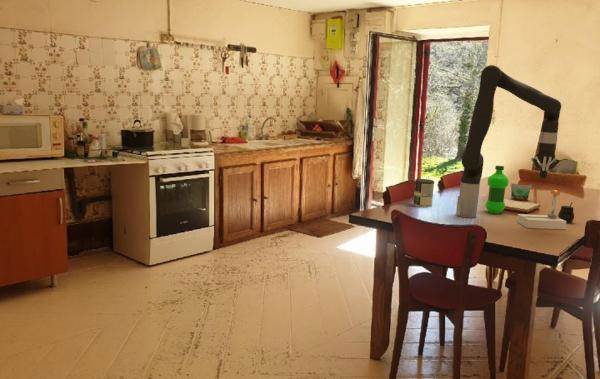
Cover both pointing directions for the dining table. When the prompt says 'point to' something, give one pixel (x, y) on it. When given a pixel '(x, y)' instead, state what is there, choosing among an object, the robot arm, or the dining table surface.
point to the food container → (520, 192)
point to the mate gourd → (566, 213)
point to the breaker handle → (553, 203)
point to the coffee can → (423, 192)
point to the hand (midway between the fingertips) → (542, 178)
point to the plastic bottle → (497, 191)
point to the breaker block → (541, 221)
